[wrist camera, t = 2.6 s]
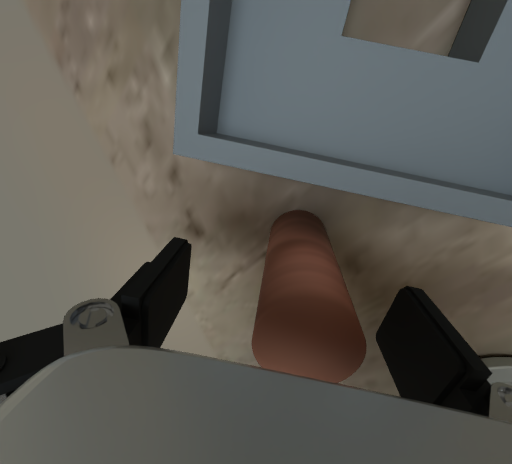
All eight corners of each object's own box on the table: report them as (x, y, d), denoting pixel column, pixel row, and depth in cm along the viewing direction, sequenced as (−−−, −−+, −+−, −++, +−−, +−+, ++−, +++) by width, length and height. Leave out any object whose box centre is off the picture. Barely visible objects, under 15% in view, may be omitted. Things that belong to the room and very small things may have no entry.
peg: (316, 266, 19) (344, 397, 10) (264, 254, 19) (243, 372, 10) (333, 217, 17) (384, 318, 8) (276, 204, 17) (263, 290, 8)
